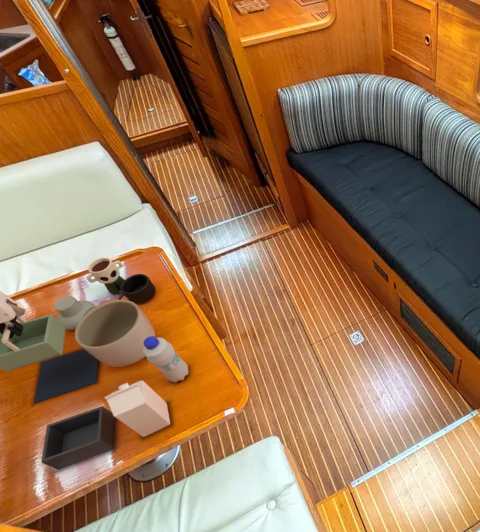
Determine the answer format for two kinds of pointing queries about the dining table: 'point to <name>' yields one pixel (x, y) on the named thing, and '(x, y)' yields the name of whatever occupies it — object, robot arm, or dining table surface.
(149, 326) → the planter
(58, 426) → the box
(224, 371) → the dining table surface
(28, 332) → the box
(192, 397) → the dining table surface
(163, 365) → the bottle
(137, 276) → the mug
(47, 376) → the mat
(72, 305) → the air freshener
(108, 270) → the character mug
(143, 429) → the milk carton
